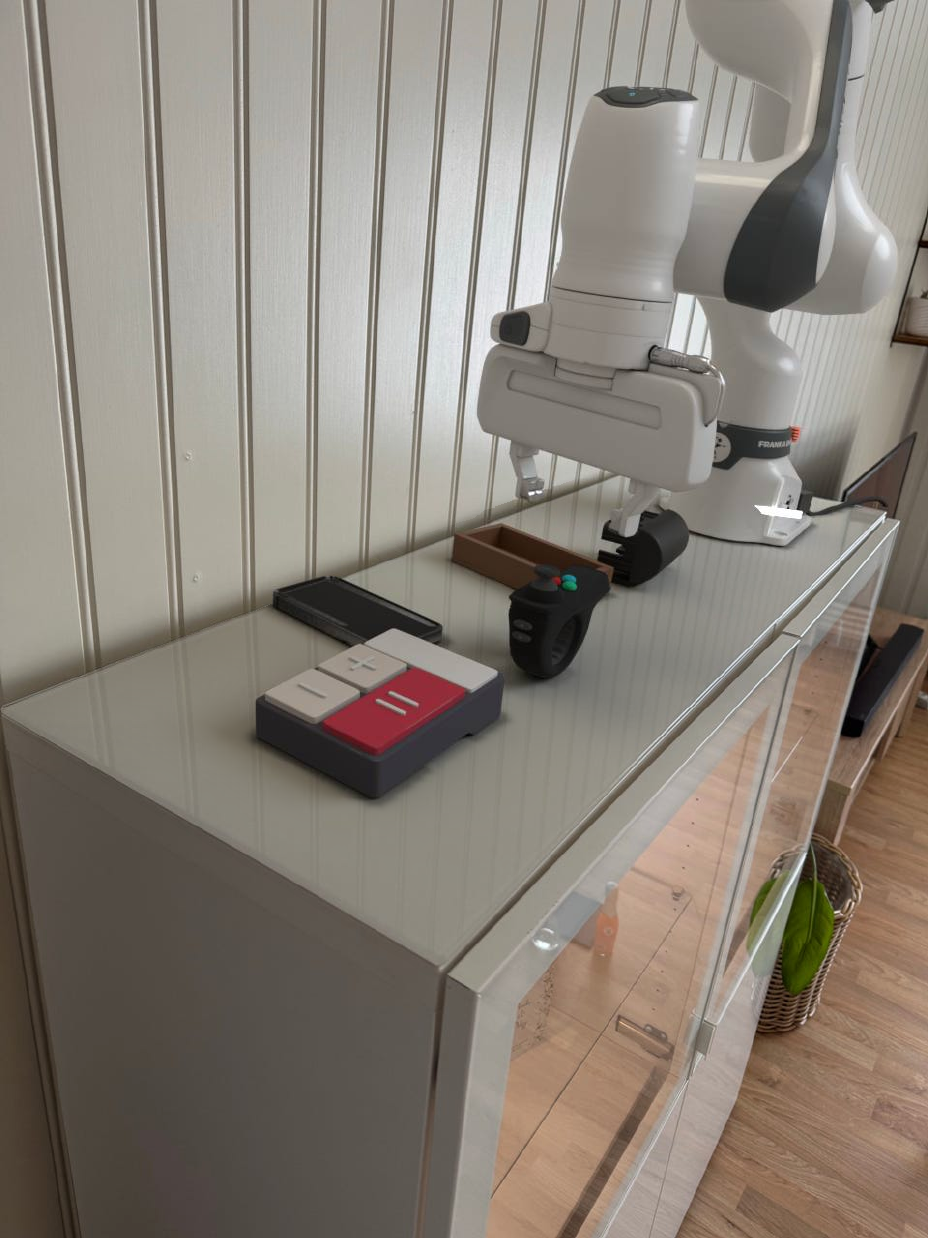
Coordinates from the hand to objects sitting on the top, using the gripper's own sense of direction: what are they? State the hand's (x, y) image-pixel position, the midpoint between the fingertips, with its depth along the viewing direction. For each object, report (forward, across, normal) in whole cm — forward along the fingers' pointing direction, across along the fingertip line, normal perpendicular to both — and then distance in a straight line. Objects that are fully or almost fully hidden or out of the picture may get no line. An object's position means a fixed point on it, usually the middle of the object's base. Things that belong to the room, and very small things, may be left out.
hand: (573, 516), depth 73 cm
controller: (+14, 0, 0) cm, 14 cm away
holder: (+14, +15, -15) cm, 25 cm away
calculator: (+14, +1, +18) cm, 23 cm away
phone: (+14, +16, +8) cm, 22 cm away
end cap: (+14, +9, -27) cm, 32 cm away
